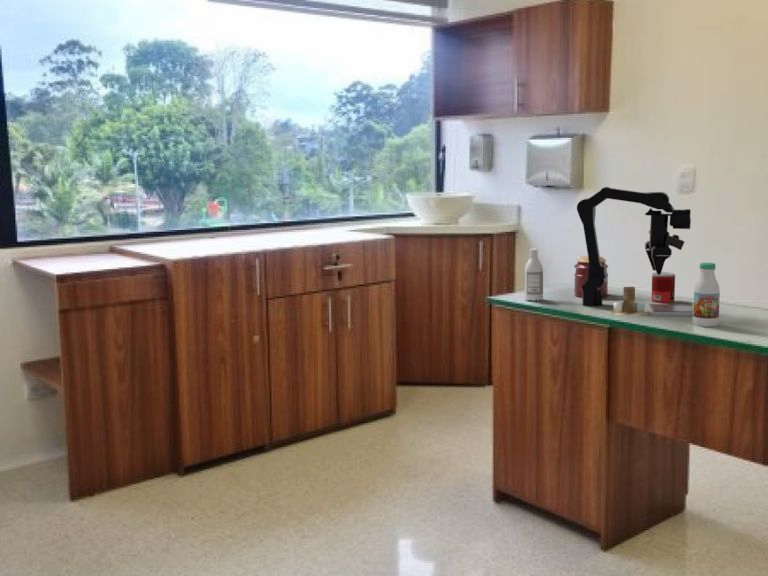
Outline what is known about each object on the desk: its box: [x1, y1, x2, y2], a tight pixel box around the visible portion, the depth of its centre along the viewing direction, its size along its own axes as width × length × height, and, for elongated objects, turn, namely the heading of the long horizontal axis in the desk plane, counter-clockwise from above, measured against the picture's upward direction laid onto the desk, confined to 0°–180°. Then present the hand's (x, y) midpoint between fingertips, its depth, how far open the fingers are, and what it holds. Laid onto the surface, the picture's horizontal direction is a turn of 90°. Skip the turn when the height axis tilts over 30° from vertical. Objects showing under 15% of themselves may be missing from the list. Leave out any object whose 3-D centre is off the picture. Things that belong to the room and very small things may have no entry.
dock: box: [648, 303, 693, 317], centre depth 265 cm, size 13×13×2 cm
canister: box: [573, 255, 609, 298], centre depth 303 cm, size 13×13×18 cm
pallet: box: [609, 286, 650, 316], centre depth 268 cm, size 12×12×10 cm
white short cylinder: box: [613, 301, 623, 312], centre depth 269 cm, size 3×3×3 cm
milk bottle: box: [692, 262, 720, 328], centre depth 246 cm, size 8×8×20 cm
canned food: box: [651, 271, 676, 304], centre depth 284 cm, size 8×8×11 cm
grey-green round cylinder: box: [635, 301, 646, 313], centre depth 267 cm, size 3×3×3 cm
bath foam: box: [524, 248, 544, 302], centre depth 298 cm, size 7×7×20 cm
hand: (656, 272), depth 271 cm, fingers open, 9 cm apart
